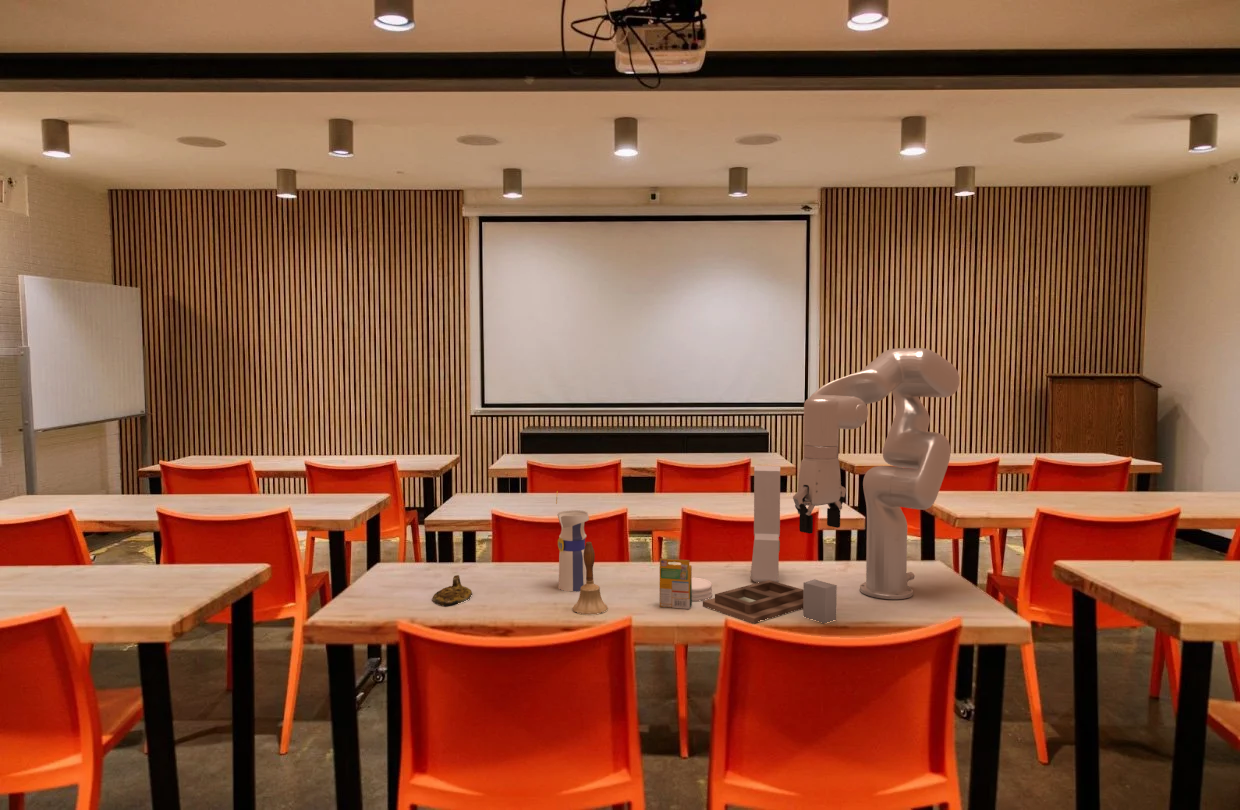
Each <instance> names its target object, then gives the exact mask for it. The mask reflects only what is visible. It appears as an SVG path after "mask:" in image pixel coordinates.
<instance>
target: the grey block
mask: <svg viewBox="0 0 1240 810" xmlns="http://www.w3.org/2000/svg"><path fill="white" fill-rule="evenodd" d="M802 585H803V587H802V588H803V609H802V610H803V611H802V612H803V613H802V616H804V617H806V618H805V619H807V618H809V619H808V620H810V619H813V620H816V621H819V622H822V623H821V624H823V623H827V622H830V621H833V620H836V621H837V596H838V595H837V594H838V593H837V592H838V591H837V588H838V587H837V586H838V585H837V584H833V583H830V582H826V581H822V580H818V579H812V580H808V581H804V582H803V584H802ZM813 620H812V621H813ZM816 621H815V622H816ZM819 622H818V623H819ZM833 622H834V621H833ZM830 623H831V622H830ZM827 624H828V623H827Z"/></svg>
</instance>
